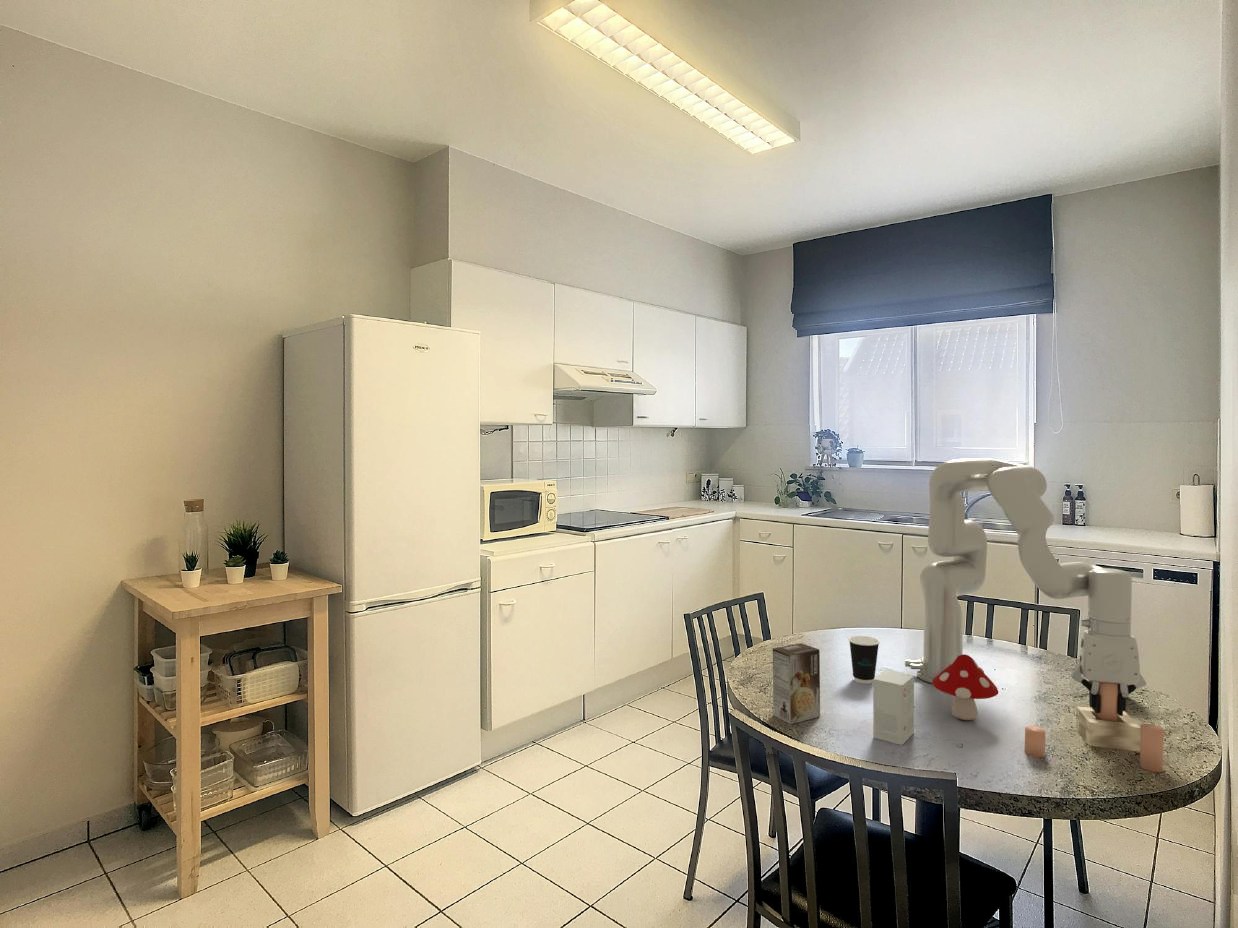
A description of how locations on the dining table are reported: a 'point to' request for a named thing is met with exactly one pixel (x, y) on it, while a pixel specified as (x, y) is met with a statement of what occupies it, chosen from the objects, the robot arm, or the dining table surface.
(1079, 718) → the bore block
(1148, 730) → the medium pin
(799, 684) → the coffee box
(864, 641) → the dixie cup
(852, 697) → the dining table surface
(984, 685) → the decorative mushroom
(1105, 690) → the long pin
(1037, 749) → the short pin
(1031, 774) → the dining table surface
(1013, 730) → the dining table surface
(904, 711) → the small box
